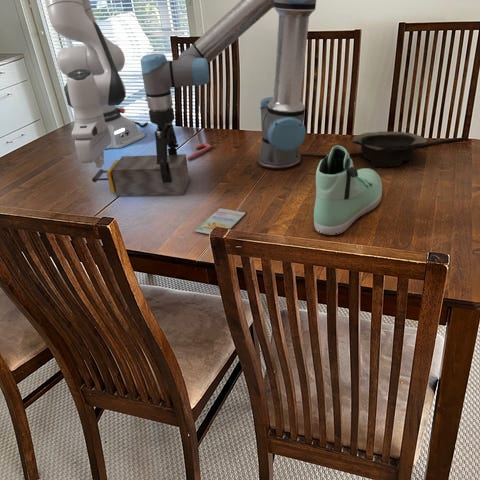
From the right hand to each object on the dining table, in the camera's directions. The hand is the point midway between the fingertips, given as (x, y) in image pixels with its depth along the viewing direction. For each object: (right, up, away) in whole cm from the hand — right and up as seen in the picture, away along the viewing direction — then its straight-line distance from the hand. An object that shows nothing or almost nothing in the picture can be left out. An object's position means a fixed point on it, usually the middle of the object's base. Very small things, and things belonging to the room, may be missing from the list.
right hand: (171, 174), depth 157 cm
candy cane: (+6, +12, +28) cm, 31 cm away
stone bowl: (+74, +7, +11) cm, 75 cm away
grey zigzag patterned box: (-6, -4, +3) cm, 8 cm away
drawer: (-12, -3, +3) cm, 13 cm away
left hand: (-23, +3, 0) cm, 23 cm away
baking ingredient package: (+17, -17, -20) cm, 31 cm away
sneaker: (+54, -13, -18) cm, 58 cm away
